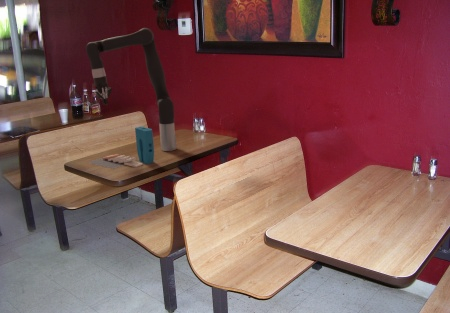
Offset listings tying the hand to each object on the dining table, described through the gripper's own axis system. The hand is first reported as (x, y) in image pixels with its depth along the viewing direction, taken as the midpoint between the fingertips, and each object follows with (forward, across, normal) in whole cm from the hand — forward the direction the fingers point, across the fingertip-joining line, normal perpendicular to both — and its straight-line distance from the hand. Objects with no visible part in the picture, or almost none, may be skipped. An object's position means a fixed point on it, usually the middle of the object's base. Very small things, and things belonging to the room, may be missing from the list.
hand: (105, 104), depth 280 cm
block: (+34, -4, -30) cm, 45 cm away
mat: (+31, -16, -12) cm, 37 cm away
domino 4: (+32, -12, -23) cm, 41 cm away
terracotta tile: (+30, -12, -5) cm, 32 cm away
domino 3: (+31, -12, -18) cm, 38 cm away
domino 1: (+30, -12, -9) cm, 34 cm away
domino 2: (+31, -12, -14) cm, 36 cm away
